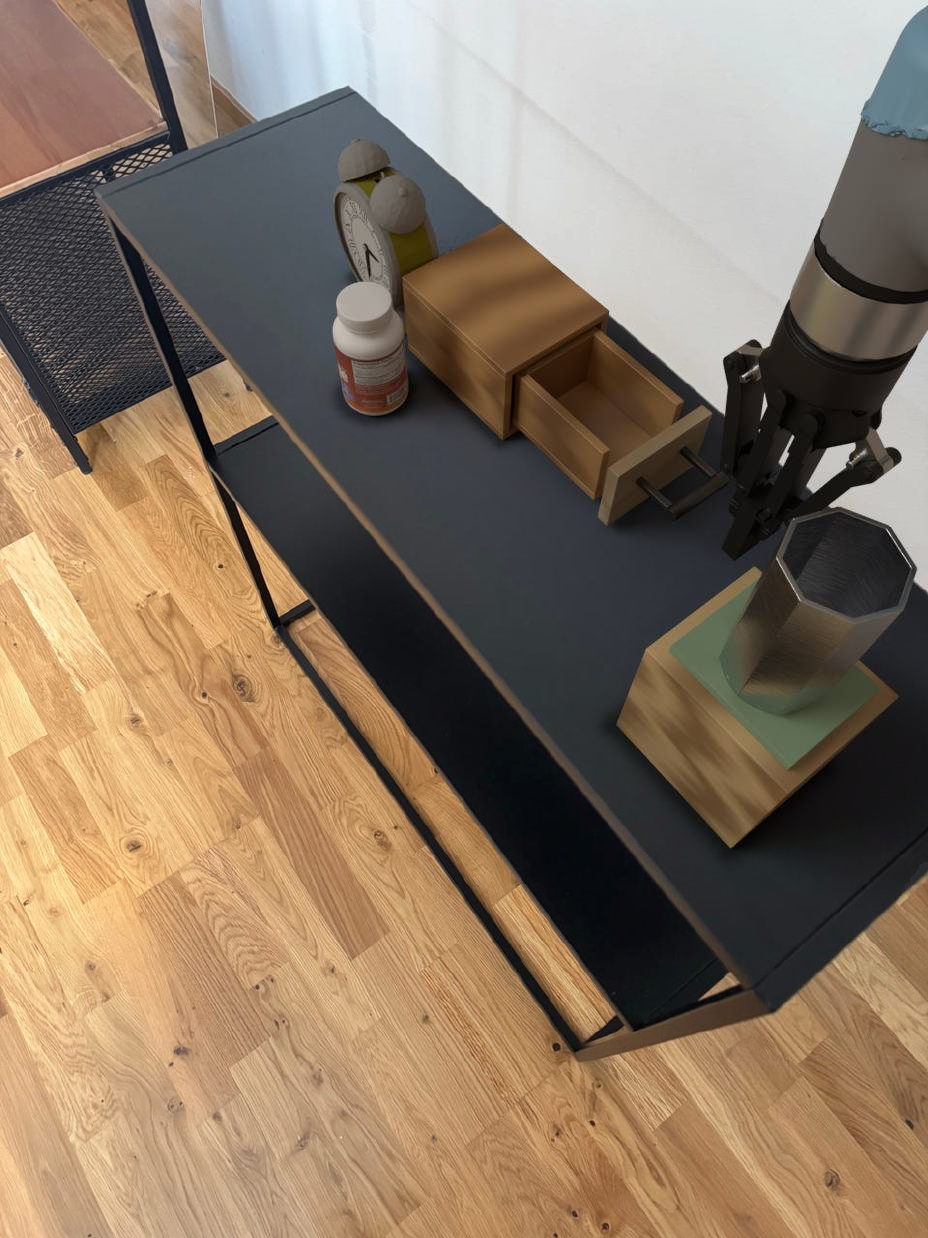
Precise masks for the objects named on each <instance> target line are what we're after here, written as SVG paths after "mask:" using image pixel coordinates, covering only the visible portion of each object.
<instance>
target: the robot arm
mask: <svg viewBox="0 0 928 1238" xmlns="http://www.w3.org/2000/svg"><path fill="white" fill-rule="evenodd" d="M859 116H861V117H860V121H859V123H858V127H857V129H856V132H855V134H854V137H853V140H852V142H851V145H850V148H849V151H848V154H847V157H846V159H845V162H844V165H843V167H842V170H841V172H840V175H839V177H838V180H837V182H836V185H835V187H834V189H833V193H832V195H831V198H830V200H829V203H828V205H827V208H826V211H825V212H824V215H823V217H822V218H821V220H820V223H819V225H818V228H817V231H816V233H815V235H814V237H813V239H812V241H811V244H810V246H809V249H808V251H807V253H806V255H805V258H804V260H803V263H802V264H801V266H800V269H799V272H798V274H797V276H796V279H795V280H794V283H793V285H792V288H791V290H790V291H791V292H790V295H789V298H788V300H787V302H786V304H785V306H784V308H783V311H782V313H781V316H780V318H779V321H778V324H777V325H776V328H775V330H774V333H773V336H772V338H771V340H770V343H769V346H765V347H763V346H762V344H761V342H760V341H758V340H757V339H755V338H753V339H750V340H748V341H747V342H746V343H743V344H742V345H740V346H739V347H738V348H736V349H734V350H733V351H731V352H730V353H728V354H727V355H725V356H724V357H723V359H722V364H723V365H722V367H723V370H724V371H723V372H724V375H725V381H726V385H727V390H726V400H725V408H724V421H723V427H722V428H723V429H722V439H721V449H720V458H719V459H720V460H719V467H720V470H721V472H722V473H724V474H726V476H731V475H732V476H733V478H734V480H735V481H736V482H735V492H734V494H733V496H732V498H731V500H730V503H729V504H728V513H729V514H730V515H731V516H732V517H734V520H733V522H732V524H731V527H730V529H729V530H728V532H727V535H726V536H725V539H724V541H723V542H722V545H721V548H720V549H721V550H722V551H723V552H724V553H725V554H726V555H727V556H728V557H729V558H730V559H731V560H732V561H734V562H736V561H737V560H738V559H739V558H741V557H742V556H744V555H745V554H746V553H748V552H749V551H750V550H751V549H753V548H754V547H756V546H757V545H759V543H760V541H761V542H764V541H766V540H767V539H769V538H770V537H772V536H773V535H775V533H777V532H778V531H779V530H780V529H781V527H782V525H783V524H784V526H785V527H786V529H787V528H788V526H789V524H790V522H791V521H792V519H794V518H797V517H801V516H804V515H808V514H812V513H816V512H819V511H823V510H826V508H828V507H829V506H831V504H833V503H834V502H836V500H838V499H839V498H840V497H841V496H843V495H845V494H846V493H847V492H848V491H849V490H850V489H852V488H856V487H857V488H858V487H861V486H866V485H872V484H873V483H876V482H877V481H878V480H879V479H881V478H882V477H884V476H885V475H886V474H887V473H888V472H890V471H891V470H893V469H894V468H895V467H896V466H898V465H899V464H900V463H901V462H902V459H903V456H902V453H901V452H900V450H899V449H898V448H896V447H894V446H887V447H885V445H884V443H883V442H882V439H881V437H880V435H879V433H878V431H877V430H878V429H879V428H880V426H881V424H882V421H883V406H884V403H885V402H886V400H887V399H888V397H889V396H890V394H891V393H892V391H893V390H894V387H895V386H896V385H897V383H898V381H899V380H900V378H901V376H902V375H903V373H904V371H905V370H906V368H907V366H908V365H909V363H910V361H911V360H912V358H913V356H914V355H915V353H916V351H917V350H918V347H919V344H920V343H921V342H922V340H923V338H924V337H925V335H926V334H927V332H928V5H926V6H924V7H923V8H922V9H920V10H919V11H918V12H916V13H915V14H914V15H913V16H912V17H911V19H910V20H909V21H908V22H907V23H906V25H905V26H904V28H902V31H901V32H900V34H899V36H898V38H897V40H896V42H895V45H894V47H893V48H892V51H891V53H890V55H889V58H888V59H887V62H886V64H885V65H884V68H883V70H882V72H881V74H880V77H879V78H878V81H877V83H876V85H875V87H874V89H873V91H872V93H871V95H870V97H869V98H868V99H866V101H865V102H864V104H863V107H862V110H861V112H860V114H859ZM764 399H765V400H764ZM764 401H766V408H765V410H764V412H763V406H764ZM762 412H763V415H762ZM792 437H793V439H792ZM791 439H792V440H791ZM790 440H791V442H790ZM789 443H790V444H789ZM850 444H854V445H855V448H854V450H852V452H850V453H849V455H848V461H846V462H845V468H843V469H841V470H840V471H839V472H838V473H836V474H835V475H834V476H832V477H831V478H830V479H829V480H828V481H826V482H825V483H824V484H823V485H821V486H820V487H819V488H818V489H817V490H815V492H813V493H812V494H811V495H810V496H809V497H807V498H806V499H805V500H804V499H802V498H801V496H802V494H803V492H804V491H805V489H806V487H807V486H808V484H809V482H810V480H811V479H812V476H813V474H814V473H815V472H816V469H817V468H818V466H819V464H820V462H821V461H822V459H823V457H824V455H825V453H826V451H827V450H828V449H830V448H835V447H839V446H840V447H841V446H844V445H850ZM788 445H789V447H788ZM787 447H788V448H787ZM786 448H787V454H788V455H787V457H786V459H785V461H784V463H783V465H782V468H781V469H780V471H779V472H778V471H776V469H777V467H778V465H779V463H780V461H781V459H782V457H783V455H784V453H785V450H786ZM775 471H776V472H775ZM777 474H778V475H777ZM775 476H777V477H776V479H775V481H774V482H773V484H772V483H771V482H769V480H771V479H772V478H774V477H775Z"/></svg>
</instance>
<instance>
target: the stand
mask: <svg viewBox="0 0 928 1238" xmlns="http://www.w3.org/2000/svg"><path fill="white" fill-rule="evenodd" d="M762 573H763V571H761V570H760V569H759V568H757V566H752V568H750V569H749V570H748V571H746V572H745V573H744V574H742V575H741V576H740V577H738V579H736V580H734V581H733V582H732V583H731V584H728V586H727V587H725V588H724V589H723V590H721V591H720V592H719V593H717V594H716V595H714V597H712V598H711V599H710V600H708V601H706V602H705V603H704V604H702V606H700V607H699V608H698V609H696V610H695V611H694V612H692V613H691V614H690V615H689V616H686V618H685V619H683V620H682V621H681V622H679V623H678V624H677V625H675V626H674V627H673V628H672V629H670V630H668V631H667V632H666V633H665V634H663V635H662V636H661V637H659V638H658V639H657V640H656V641H655V642H653V643H651V645H649V646H647V647H646V648H645V650H644V653H643V655H642V658H641V660H640V663H639V665H638V668H637V670H636V673H635V676H634V678H633V681H632V684H631V686H630V688H629V691H628V694H627V696H626V698H625V700H624V703H623V706H622V708H621V712H620V714H619V717H618V719H617V722H616V724H615V725H616V726H617V727H618V728H619V730H620V731H621V732H622V733H623V734H624V735H625V736H626V737H627V738H628V739H629V741H631V742H632V744H633V745H634V746H635V747H636V748H637V749H638V750H639V751H640V752H641V753H642V755H644V757H646V759H647V760H648V761H649V762H650V763H651V764H652V765H653V766H654V768H655V769H657V771H658V772H659V773H661V775H662V776H663V777H664V778H665V780H666V781H668V782H669V783H670V785H671V786H672V787H673V788H674V789H675V790H676V791H677V792H678V793H679V794H680V796H682V798H683V799H684V800H685V801H686V802H687V803H688V804H689V806H691V807H692V809H693V810H694V811H695V812H696V813H697V814H698V815H699V816H700V817H701V818H702V819H703V820H704V821H705V823H706V824H707V825H708V826H709V827H710V828H711V829H712V830H713V831H714V832H715V833H716V834H717V836H718V837H719V838H720V839H721V840H722V841H723V842H724V843H725V844H726V845H727V846H728V848H729V849H733V848H734V847H735V846H736V845H738V843H740V842H741V841H742V840H743V839H744V838H745V837H746V836H748V834H750V833H751V832H752V831H753V830H754V829H755V828H756V827H758V826H759V825H760V824H761V823H762V822H763V821H764V820H766V819H767V818H768V817H769V816H770V815H771V814H773V813H774V811H776V810H777V809H778V808H779V807H780V806H781V805H782V804H784V803H785V802H786V801H787V800H789V798H790V797H792V796H793V795H794V794H795V793H796V792H798V790H800V788H802V787H803V786H804V785H805V784H806V783H807V782H809V781H810V780H811V779H812V778H813V777H815V775H816V774H818V773H819V772H820V771H821V770H822V769H823V768H824V767H825V766H826V765H828V764H829V763H830V762H831V761H832V760H833V759H834V758H835V757H836V756H837V755H838V754H839V753H841V752H842V751H843V750H844V749H845V748H846V747H847V746H848V745H849V744H850V743H851V742H852V741H854V740H855V738H857V737H858V736H859V735H860V734H861V733H862V732H863V731H865V730H866V728H868V726H870V725H871V724H872V723H873V722H874V721H875V720H876V719H877V718H878V717H879V716H880V715H881V714H882V713H883V712H885V711H886V710H887V709H888V708H889V707H890V706H892V704H894V702H895V701H896V700H898V698H899V697H900V696H899V695H898V694H897V693H896V692H895V691H894V690H893V689H892V688H891V687H890V686H888V685H887V683H885V682H884V681H883V680H882V679H880V677H878V676H877V675H876V674H875V673H874V672H873V671H872V670H871V669H870V668H869V667H868V666H866V665H865V664H864V663H863V662H861V660H860V659H859V660H858V661H857V662H856V663H855V665H856V666H857V667H858V668H859V669H860V670H861V671H862V672H863V673H864V674H865V675H867V676H868V677H869V678H870V679H871V680H872V681H873V682H874V683H875V684H876V685H878V686H879V687H880V688H881V689H880V690H879V691H878V692H877V693H876V694H875V695H874V696H873V697H872V698H871V699H870V700H868V701H867V702H866V703H865V704H864V705H863V706H861V707H860V708H859V709H858V710H857V711H856V712H855V713H853V714H852V715H851V716H850V717H849V718H848V719H847V720H845V721H844V722H843V723H842V724H841V725H840V726H838V727H837V728H836V729H835V730H834V731H833V732H832V733H830V734H829V735H828V736H827V737H826V738H825V739H824V740H822V741H821V742H820V743H819V744H818V745H817V746H816V747H814V748H813V749H812V750H811V751H810V752H809V753H807V754H806V755H805V756H804V757H803V758H802V759H801V760H799V761H798V762H797V763H796V764H795V765H794V766H793V767H791V768H790V769H789V770H786V769H785V768H784V767H783V766H782V765H781V764H780V763H779V762H778V761H777V760H776V759H775V758H774V757H773V756H772V755H771V754H770V753H769V752H768V751H767V750H766V749H765V748H764V747H763V745H762V744H761V743H760V742H759V741H758V740H757V739H756V738H755V737H754V736H753V735H752V734H751V733H750V732H749V731H748V730H747V729H746V728H745V727H744V726H743V725H742V724H741V723H740V722H739V721H738V720H737V719H736V718H735V717H734V716H733V715H732V714H731V713H730V712H729V711H728V710H727V709H726V708H725V707H724V706H723V705H722V704H721V703H720V702H719V701H718V700H717V699H716V698H715V697H714V696H713V695H712V694H711V693H710V692H709V691H708V690H707V689H706V688H705V687H704V686H703V685H702V684H701V683H700V682H699V681H698V680H697V679H696V678H695V677H694V676H693V675H692V674H691V673H690V672H689V671H688V670H687V669H686V668H685V667H684V666H683V665H682V664H681V663H680V662H679V661H678V660H677V659H676V658H675V657H674V656H673V655H672V654H671V653H670V652H669V649H670V647H671V645H672V644H674V643H675V642H676V641H678V640H679V639H680V638H681V637H683V636H684V635H685V634H687V633H688V632H689V631H691V630H692V629H693V628H695V627H696V626H697V625H698V624H700V623H701V622H702V621H704V620H705V619H706V618H708V617H709V616H710V615H711V614H713V613H714V612H715V611H717V610H718V609H719V608H721V607H722V606H723V605H724V604H726V603H727V602H728V601H730V600H731V599H732V598H734V597H735V596H736V595H737V594H739V593H740V592H741V591H743V590H744V589H745V588H747V587H748V586H749V585H751V584H752V583H753V582H754V581H756V580H757V579H758V578H760V576H761V574H762Z"/></svg>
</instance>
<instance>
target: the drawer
mask: <svg viewBox="0 0 928 1238" xmlns="http://www.w3.org/2000/svg"><path fill="white" fill-rule="evenodd" d="M684 402H685V401H684V399H682V397H680V396H679V395H678V394H676V393H675V392H674V391H673V390H672V389H671V388H669V387H668V386H667V385H666V384H665V383H664V382H662V381H661V380H660V379H659V378H658V377H656V376H655V374H653V373H651V372H650V370H648V369H647V368H646V367H644V365H642V364H641V363H640V362H639V361H638V360H636V359H635V358H634V357H632V356H631V355H630V354H629V353H628V352H627V351H626V350H624V348H622V347H621V346H620V345H618V344H617V343H616V342H614V340H613V339H611V338H610V337H609V336H608V335H607V334H604V333H603V332H602V331H601V330H599V329H598V328H597V327H596V326H594V327H592V328H590V329H589V330H587V331H585V332H584V333H582V334H580V335H579V336H577V337H575V338H574V339H572V340H570V341H569V342H567V343H565V344H564V345H562V346H560V347H559V348H557V349H555V350H554V351H552V352H550V353H549V354H547V355H545V356H544V357H542V358H540V359H539V360H537V361H536V362H534V363H532V364H531V365H529V366H527V367H526V368H524V369H522V370H521V371H519V372H517V373H516V374H515V388H514V404H513V424H514V425H515V426H516V427H517V428H518V429H519V431H520V432H521V433H522V434H523V435H524V436H525V437H526V438H527V439H529V440H530V441H531V442H532V444H534V445H535V446H536V448H538V449H539V450H540V451H541V452H542V453H543V454H544V455H545V456H546V457H547V458H548V459H549V460H550V461H551V462H553V463H554V464H555V465H556V467H558V468H559V469H560V470H561V471H562V472H563V473H564V474H565V475H566V476H567V477H568V478H569V479H571V481H572V482H573V483H575V485H577V486H578V488H580V489H581V490H582V491H583V492H584V493H585V494H586V495H587V496H588V497H589V498H590V499H591V500H592V501H595V500H597V499H598V498H600V497H601V500H600V503H599V504H600V505H599V508H598V510H599V511H598V514H597V518H598V519H599V520H600V521H601V522H602V523H603V524H604V525H605V526H606V527H608V526H609V525H610V524H612V523H614V522H615V521H616V520H618V519H619V518H621V517H622V516H623V515H626V514H627V513H628V512H629V511H632V509H634V508H635V507H637V506H638V505H639V504H641V503H642V502H644V501H645V500H646V499H648V498H650V499H652V501H654V502H655V503H656V504H657V505H658V506H660V508H661V509H663V510H664V513H665V517H666V519H667V520H668V521H669V522H670V523H676V522H678V521H679V520H680V519H682V518H683V517H685V516H686V515H687V514H689V513H690V512H691V511H693V510H694V509H696V508H698V506H700V505H701V504H703V503H704V502H706V501H707V500H709V499H710V498H711V497H712V496H714V495H715V494H717V493H718V492H720V491H721V490H722V489H724V488H725V487H726V486H728V485H729V483H730V479H729V477H728V475H726V474H725V473H724V472H723V471H720V472H717V471H716V470H714V469H713V468H712V467H711V466H710V465H709V464H707V463H706V462H705V461H704V460H703V459H702V458H700V457H699V456H698V455H699V452H700V450H701V448H702V445H703V442H704V439H705V436H706V433H707V430H708V427H709V425H710V422H711V420H712V416H713V412H711V410H709V409H708V408H707V407H706V406H704V405H703V404H701V405H700V406H698V407H697V408H695V409H693V410H692V411H691V412H689V413H688V414H686V415H685V416H683V417H682V418H680V415H681V412H682V409H683V405H684ZM679 418H680V419H679ZM693 467H694V468H695V469H696V470H698V472H700V473H701V474H702V475H703V476H705V478H707V479H708V480H707V481H705V482H704V483H702V484H701V485H699V486H698V487H697V488H695V489H694V490H692V491H691V492H689V493H688V494H686V495H685V496H684V497H683V498H681V499H680V500H678V501H677V502H675V503H674V504H673V503H672V502H671V501H670V500H669V499H667V497H665V496H664V495H663V494H662V493H661V492H660V490H661V489H662V488H664V487H666V486H667V485H668V484H670V483H671V482H672V481H674V480H676V479H677V478H678V477H679V476H682V475H683V474H684V473H686V472H687V471H688V470H691V468H693Z"/></svg>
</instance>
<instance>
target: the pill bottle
mask: <svg viewBox="0 0 928 1238" xmlns="http://www.w3.org/2000/svg"><path fill="white" fill-rule="evenodd" d="M335 305H336V306H335V307H336V312H337V313H336V314H337V316H336V317H335V319H334V321H333V325H332V339H333V345H334V350H335V357H336V361H337V367H338V373H339V379H340V383H341V389H342V390H341V391H342V393H343V398H344V399H345V402H346V404H347V405H348V406H349V407H350V408H351V409H352V410H354V411H355V412H357V413H359V414H361V415H365V416H373V417H375V416H384V415H387V414H390V413H392V412H394V411H396V410H397V409H399V408H400V407H401V406H402V405H403V404H404V403H405V401H406V399H407V397H408V393H409V378H408V376H409V375H408V365H407V354H406V342H405V334H404V330H403V324H402V321H401V319H400V317H399V315H398V314H397V313H396V312H395V310H394V308H393V304H392V297H391V294H390V293H389V291H388V290H387V289H386V288H385V287H383V286H382V285H380V284H377V283H374V282H358V281H357V282H354V283H351V284H349V285H347V286H345V287H344V288H343V289H342V290H341V291H339V293H338V295H337V298H336V304H335Z"/></svg>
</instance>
